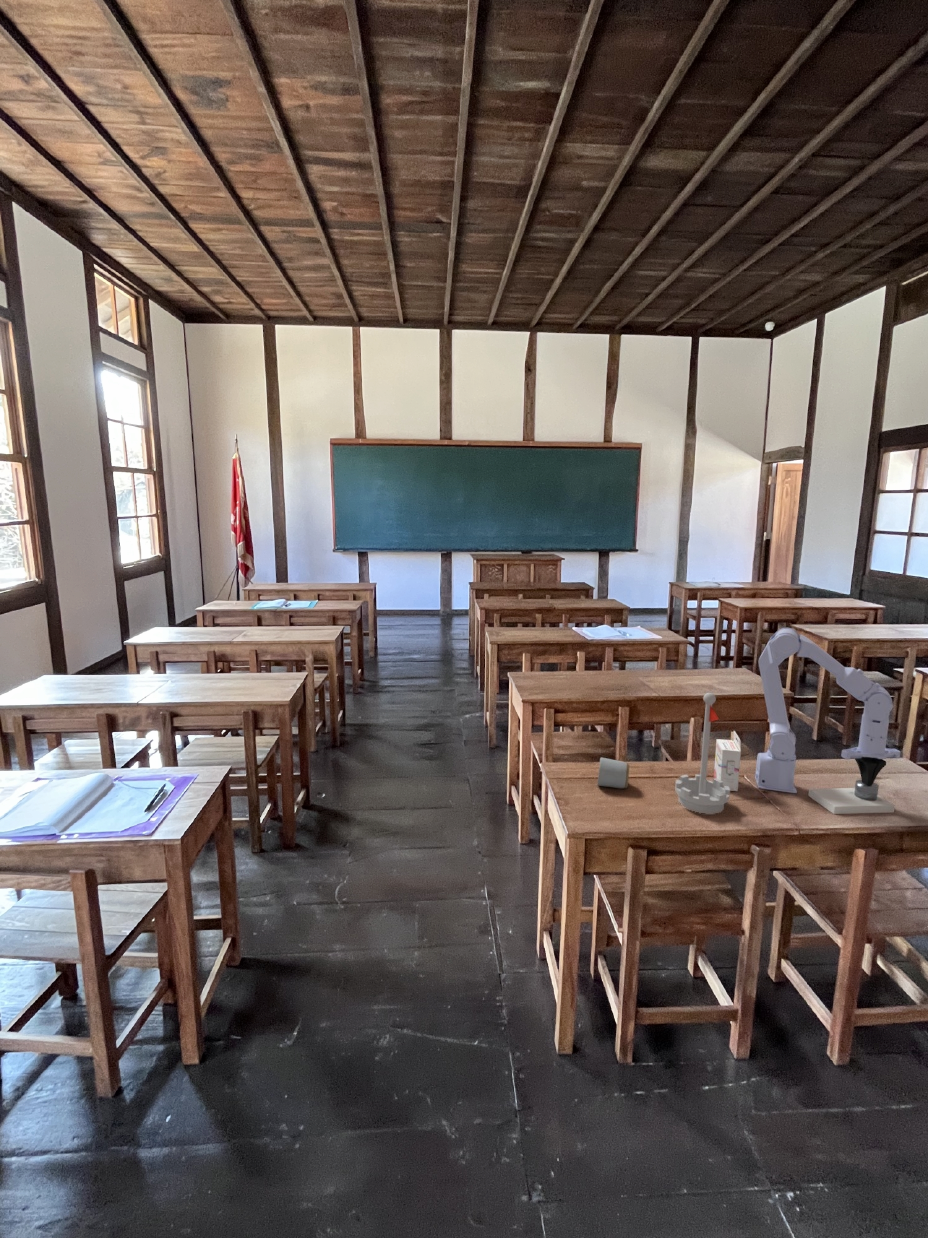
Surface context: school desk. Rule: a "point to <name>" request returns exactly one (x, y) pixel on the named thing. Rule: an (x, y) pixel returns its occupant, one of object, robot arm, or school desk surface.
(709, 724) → the flag stand
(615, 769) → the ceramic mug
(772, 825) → the school desk surface
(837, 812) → the board
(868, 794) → the peg
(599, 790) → the school desk surface
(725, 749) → the ink cartridge box
